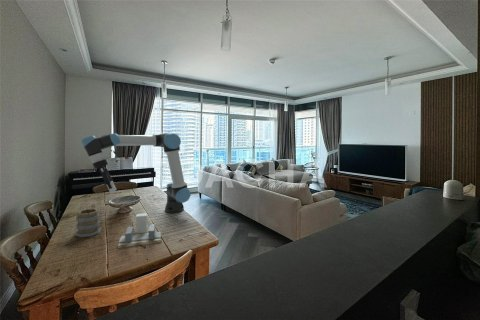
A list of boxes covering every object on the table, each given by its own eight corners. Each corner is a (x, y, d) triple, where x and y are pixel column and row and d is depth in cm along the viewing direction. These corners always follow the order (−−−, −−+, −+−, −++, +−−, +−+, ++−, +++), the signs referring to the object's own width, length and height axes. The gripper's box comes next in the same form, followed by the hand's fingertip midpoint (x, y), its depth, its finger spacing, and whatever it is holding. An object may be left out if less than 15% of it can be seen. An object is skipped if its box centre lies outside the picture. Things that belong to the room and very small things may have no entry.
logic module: (147, 229, 145) (147, 213, 144) (146, 232, 140) (146, 215, 139) (137, 230, 143) (136, 214, 142) (136, 233, 138) (136, 216, 137)
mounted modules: (154, 231, 136) (154, 224, 136) (154, 238, 127) (154, 230, 126) (128, 235, 131) (127, 226, 131) (125, 242, 122) (125, 233, 121)
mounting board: (161, 233, 139) (160, 230, 138) (160, 242, 127) (160, 238, 127) (121, 238, 131) (121, 235, 131) (118, 247, 120) (117, 244, 120)
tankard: (97, 235, 134) (96, 212, 133) (72, 238, 131) (71, 213, 129) (106, 223, 153) (105, 202, 152) (85, 225, 150) (84, 204, 148)
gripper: (95, 162, 146) (109, 191, 150) (89, 163, 124) (105, 197, 127) (107, 158, 149) (120, 186, 153) (103, 158, 127) (119, 191, 130)
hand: (114, 191), depth 140 cm, fingers open, 13 cm apart
